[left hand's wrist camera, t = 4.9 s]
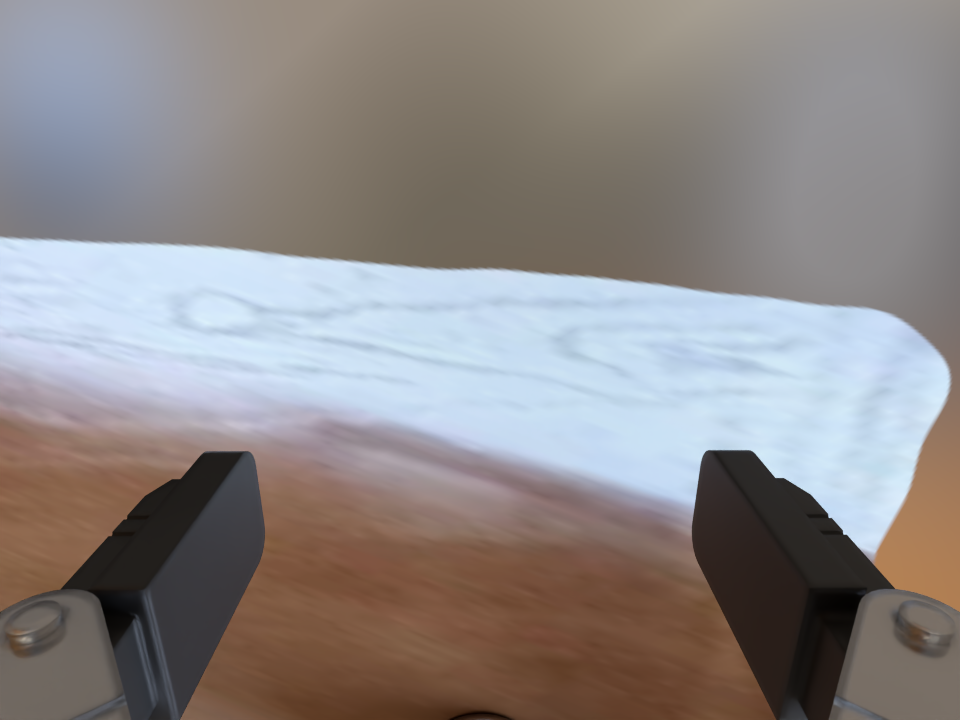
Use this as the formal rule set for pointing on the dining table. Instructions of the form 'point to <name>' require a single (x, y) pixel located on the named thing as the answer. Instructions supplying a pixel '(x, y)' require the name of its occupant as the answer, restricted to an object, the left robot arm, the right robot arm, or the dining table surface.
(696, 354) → the dining table surface
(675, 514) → the dining table surface
